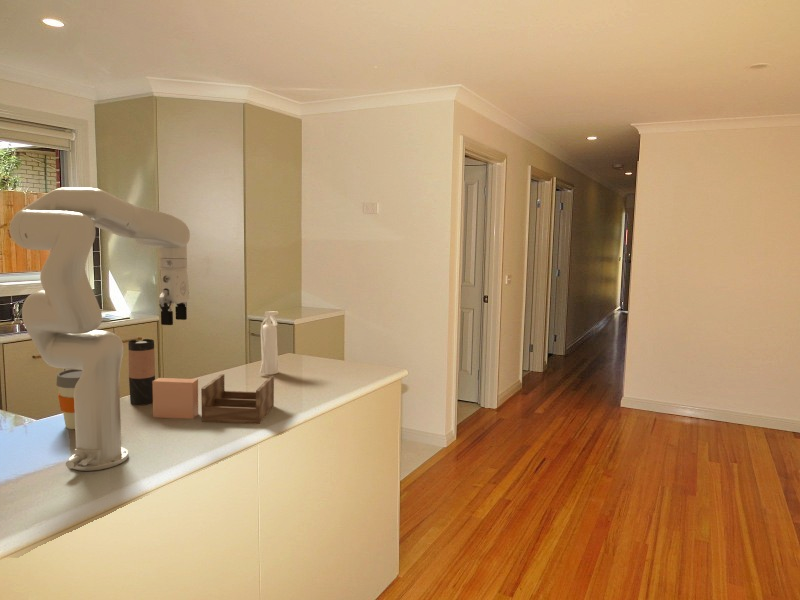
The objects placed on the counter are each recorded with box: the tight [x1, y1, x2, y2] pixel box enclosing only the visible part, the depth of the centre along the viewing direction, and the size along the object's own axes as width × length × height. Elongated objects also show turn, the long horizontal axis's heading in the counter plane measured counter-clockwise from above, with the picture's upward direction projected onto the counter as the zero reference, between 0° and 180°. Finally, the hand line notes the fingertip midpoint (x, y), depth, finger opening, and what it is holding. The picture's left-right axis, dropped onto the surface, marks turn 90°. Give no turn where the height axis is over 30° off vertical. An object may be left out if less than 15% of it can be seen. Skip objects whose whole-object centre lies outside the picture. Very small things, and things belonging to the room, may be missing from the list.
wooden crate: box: [200, 373, 275, 425], centre depth 168 cm, size 17×17×10 cm
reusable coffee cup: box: [55, 369, 83, 430], centre depth 154 cm, size 13×13×15 cm
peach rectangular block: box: [152, 377, 199, 420], centre depth 164 cm, size 4×12×11 cm, turn 89°
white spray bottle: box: [259, 310, 279, 376], centre depth 217 cm, size 7×12×25 cm, turn 157°
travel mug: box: [127, 338, 156, 406], centre depth 176 cm, size 8×8×20 cm
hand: (174, 322), depth 162 cm, fingers open, 9 cm apart
